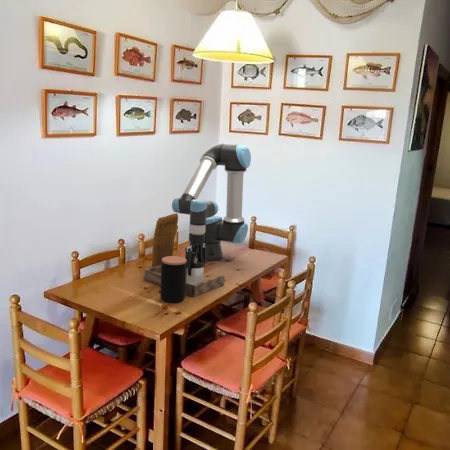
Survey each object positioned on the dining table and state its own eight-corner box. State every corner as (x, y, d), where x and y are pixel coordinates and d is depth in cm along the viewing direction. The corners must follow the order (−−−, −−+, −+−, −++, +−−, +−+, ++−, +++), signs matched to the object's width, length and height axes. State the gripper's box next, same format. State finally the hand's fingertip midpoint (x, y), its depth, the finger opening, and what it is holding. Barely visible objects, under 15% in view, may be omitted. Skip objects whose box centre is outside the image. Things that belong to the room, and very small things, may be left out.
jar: (190, 288, 216) (191, 264, 214) (182, 283, 223) (183, 259, 220) (206, 286, 221) (208, 262, 219) (198, 280, 228) (199, 257, 225)
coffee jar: (189, 299, 203) (191, 260, 199) (171, 305, 195) (173, 264, 191) (173, 292, 210) (175, 254, 206) (155, 298, 202) (156, 258, 198)
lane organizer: (175, 270, 242) (176, 260, 241) (224, 285, 224) (224, 275, 223) (143, 279, 224) (144, 269, 223) (193, 297, 206) (194, 286, 205)
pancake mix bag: (180, 264, 253) (182, 213, 247) (155, 271, 238) (157, 218, 232) (171, 261, 257) (173, 211, 251) (146, 268, 242) (147, 215, 236)
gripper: (203, 228, 226) (201, 274, 231) (177, 234, 211) (175, 282, 216) (215, 231, 222) (213, 277, 227) (190, 237, 207) (187, 286, 212)
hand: (194, 280), depth 221 cm, fingers closed on jar, 6 cm apart
